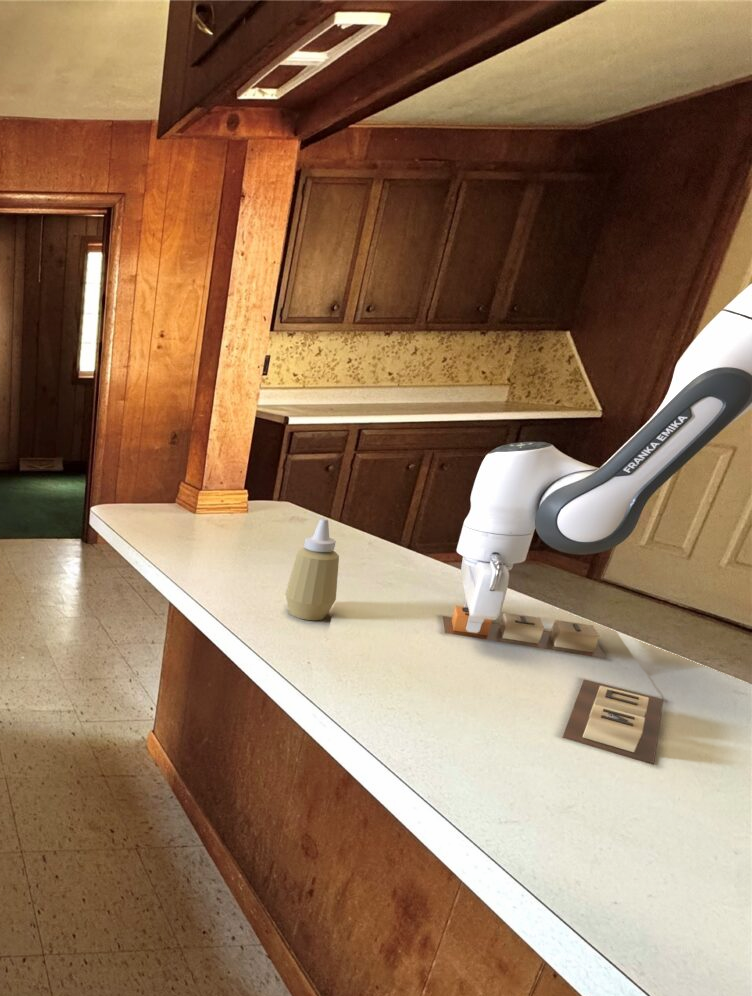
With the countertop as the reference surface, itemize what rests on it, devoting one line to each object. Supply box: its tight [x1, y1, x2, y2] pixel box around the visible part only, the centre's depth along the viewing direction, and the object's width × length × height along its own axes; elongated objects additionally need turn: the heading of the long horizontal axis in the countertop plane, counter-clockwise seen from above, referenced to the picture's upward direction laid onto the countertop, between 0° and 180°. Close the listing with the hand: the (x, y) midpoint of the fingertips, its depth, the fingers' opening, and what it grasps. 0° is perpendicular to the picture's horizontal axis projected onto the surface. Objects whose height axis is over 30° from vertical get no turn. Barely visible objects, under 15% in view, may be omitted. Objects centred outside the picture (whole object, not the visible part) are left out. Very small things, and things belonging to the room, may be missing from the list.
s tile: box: [452, 605, 493, 636], centre depth 110 cm, size 5×5×3 cm
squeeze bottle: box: [285, 517, 340, 621], centre depth 117 cm, size 8×8×18 cm
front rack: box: [562, 679, 664, 765], centre depth 85 cm, size 20×8×4 cm, turn 133°
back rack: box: [442, 612, 607, 660], centre depth 107 cm, size 20×8×4 cm, turn 58°
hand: (470, 624), depth 110 cm, fingers closed on s tile, 4 cm apart
